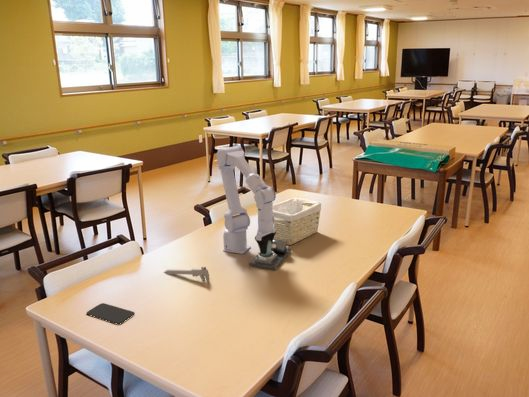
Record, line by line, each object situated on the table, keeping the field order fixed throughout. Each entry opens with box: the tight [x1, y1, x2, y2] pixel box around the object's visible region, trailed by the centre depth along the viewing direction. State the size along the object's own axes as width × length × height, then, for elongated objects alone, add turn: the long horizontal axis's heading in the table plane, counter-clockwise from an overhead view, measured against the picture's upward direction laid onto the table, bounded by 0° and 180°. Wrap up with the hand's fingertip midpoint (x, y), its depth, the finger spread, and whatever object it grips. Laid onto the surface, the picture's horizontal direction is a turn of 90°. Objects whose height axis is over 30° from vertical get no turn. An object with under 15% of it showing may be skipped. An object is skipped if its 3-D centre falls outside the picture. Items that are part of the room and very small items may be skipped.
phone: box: [86, 302, 135, 325], centre depth 145 cm, size 7×1×15 cm
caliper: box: [164, 266, 210, 283], centre depth 168 cm, size 20×1×6 cm, turn 63°
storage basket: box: [273, 197, 322, 246], centre depth 205 cm, size 24×16×15 cm
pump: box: [260, 240, 276, 257], centre depth 176 cm, size 6×4×6 cm
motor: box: [248, 239, 292, 271], centre depth 181 cm, size 11×18×6 cm, turn 157°
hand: (265, 251), depth 177 cm, fingers closed on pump, 4 cm apart
